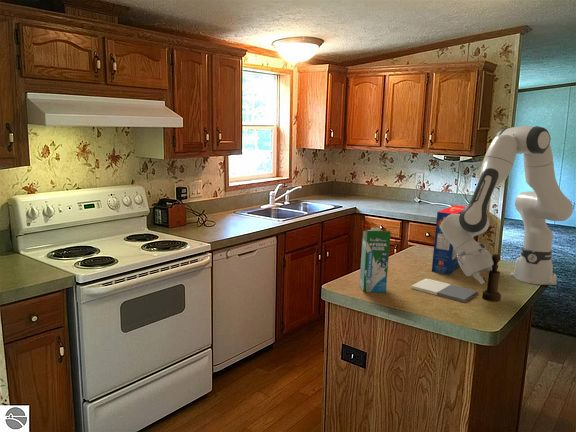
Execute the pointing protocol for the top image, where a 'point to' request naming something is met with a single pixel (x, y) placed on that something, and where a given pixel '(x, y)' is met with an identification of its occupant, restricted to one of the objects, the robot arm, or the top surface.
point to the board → (445, 290)
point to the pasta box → (444, 245)
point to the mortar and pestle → (493, 282)
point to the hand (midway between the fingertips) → (489, 280)
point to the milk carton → (374, 260)
